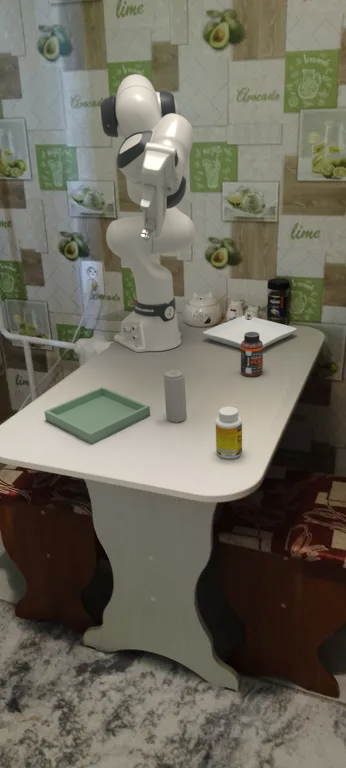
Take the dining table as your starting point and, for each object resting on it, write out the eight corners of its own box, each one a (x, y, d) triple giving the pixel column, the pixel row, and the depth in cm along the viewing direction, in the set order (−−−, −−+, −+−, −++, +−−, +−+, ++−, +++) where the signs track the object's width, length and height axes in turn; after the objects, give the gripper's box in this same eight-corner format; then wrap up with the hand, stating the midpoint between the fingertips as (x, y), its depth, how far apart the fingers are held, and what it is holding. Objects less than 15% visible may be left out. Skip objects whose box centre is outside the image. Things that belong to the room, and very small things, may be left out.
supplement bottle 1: (241, 460, 136) (240, 417, 131) (215, 459, 137) (213, 416, 132) (243, 447, 141) (242, 404, 136) (217, 446, 142) (216, 404, 137)
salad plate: (298, 337, 200) (298, 326, 199) (255, 358, 187) (255, 347, 185) (244, 323, 214) (244, 313, 212) (201, 342, 200) (200, 332, 199)
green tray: (45, 420, 157) (44, 411, 156) (103, 395, 168) (102, 386, 167) (91, 444, 145) (90, 434, 144) (150, 415, 156) (149, 406, 155)
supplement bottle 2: (252, 379, 172) (252, 339, 168) (236, 373, 177) (235, 334, 172) (267, 372, 176) (267, 333, 171) (251, 366, 180) (250, 328, 175)
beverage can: (184, 424, 152) (182, 377, 147) (164, 423, 153) (161, 376, 148) (188, 414, 156) (186, 368, 151) (168, 413, 157) (165, 368, 152)
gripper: (147, 205, 149) (131, 253, 143) (146, 136, 130) (127, 186, 124) (174, 211, 148) (159, 258, 142) (176, 141, 130) (159, 193, 124)
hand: (144, 224), depth 133 cm, fingers open, 8 cm apart
